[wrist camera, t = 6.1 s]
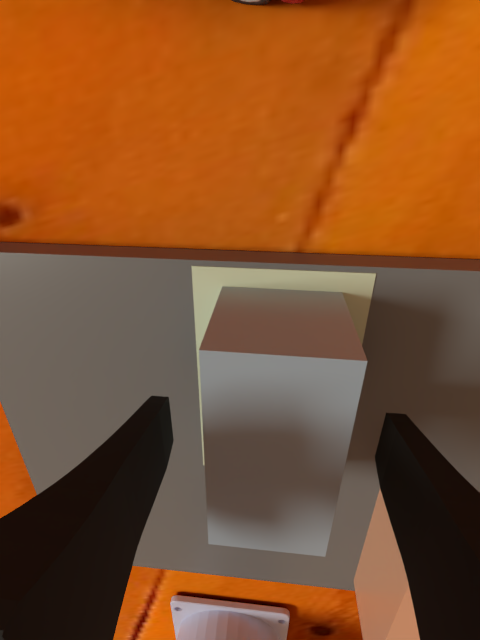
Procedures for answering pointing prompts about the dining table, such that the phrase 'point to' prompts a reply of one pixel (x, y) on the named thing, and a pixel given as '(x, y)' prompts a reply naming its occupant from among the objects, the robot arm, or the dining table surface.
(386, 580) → the terracotta brick
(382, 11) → the dining table surface
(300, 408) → the slate brick
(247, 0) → the toy fire truck
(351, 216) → the dining table surface
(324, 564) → the baseplate
